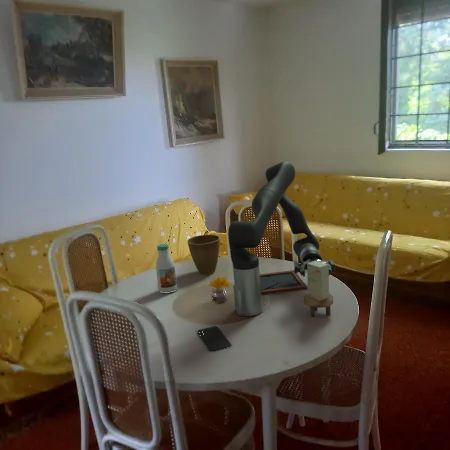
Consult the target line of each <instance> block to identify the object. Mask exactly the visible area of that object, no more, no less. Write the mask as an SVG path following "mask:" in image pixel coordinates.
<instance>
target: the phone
mask: <svg viewBox="0 0 450 450" xmlns="http://www.w3.org/2000/svg"><path fill="white" fill-rule="evenodd" d="M202 331H203V333H204V335H203V333H202ZM197 332H198V333H197ZM199 332H200V333H199ZM196 333H197V335H198V334H199V335H201V336H200V337H201V338H202V340H203V341H202V340H201V341H202V343H203V342H204V343H205V344H204V343H203V344H204V345H206V346H207V347H206V346H205V347H206V348H208V349H207V350H208V352H210V351H214V352H217V351H216V350H218V351H221V350H225V349H228V348H227V347H229V348H231V347H232V344H231V342H230V340H229V339H228V338H227V337H226V335H225V334H224V333H223V331H222V330H221V329H220V328H219V326H216V325H214V326H209V327H206V328H205V327H204V328H201V329H197V330H196ZM199 335H198V336H199ZM200 337H199V338H200ZM201 338H200V339H201ZM230 346H231V347H230ZM224 348H225V349H224ZM220 349H221V350H220Z"/></svg>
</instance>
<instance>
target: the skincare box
mask: <svg viewBox="0 0 450 450" xmlns="http://www.w3.org/2000/svg"><path fill="white" fill-rule="evenodd" d="M306 274H307V293H308V296H309V297H311V298H314V299H316V300H319V301H322V300H324V299H327V298H329V294H330V291H329V289H330V284H329V283H330V282H329V281H330V279H329V277H330V275H329V264H326V263H323V262H319V261H316V260H315V261H312V262H309V263H307V273H306Z"/></svg>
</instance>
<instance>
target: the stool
mask: <svg viewBox="0 0 450 450" xmlns="http://www.w3.org/2000/svg"><path fill="white" fill-rule="evenodd" d="M302 298H303V304H304V305H305V306H307V307H309V308H310V309H309V311H310V312H309V313H310V318H313V319H314V318H316V312H317V311H318V309H319V308H321V309H322V308H325V315H326V316H330V315H331V314H332V313H331V306H332V305H333V304H334V296H333V295H332V294H331V293H329V298H327V299H324V300H322V301H319V300H316V299H314V298H311V297H309V296H308V292H307V293H305V294H304V295H303V297H302Z"/></svg>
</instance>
